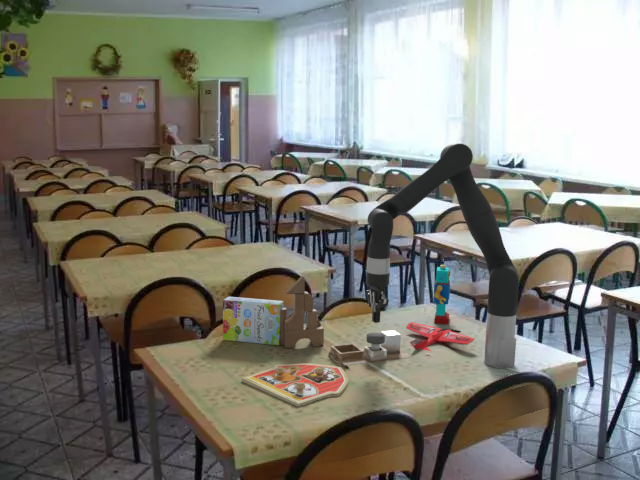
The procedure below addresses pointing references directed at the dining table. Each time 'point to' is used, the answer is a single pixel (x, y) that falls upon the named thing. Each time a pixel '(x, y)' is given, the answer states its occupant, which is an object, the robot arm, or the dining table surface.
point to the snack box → (252, 320)
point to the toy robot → (441, 294)
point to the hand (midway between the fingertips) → (375, 321)
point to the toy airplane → (436, 336)
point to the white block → (391, 341)
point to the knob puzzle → (300, 382)
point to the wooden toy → (300, 318)
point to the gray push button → (375, 340)
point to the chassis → (362, 355)
